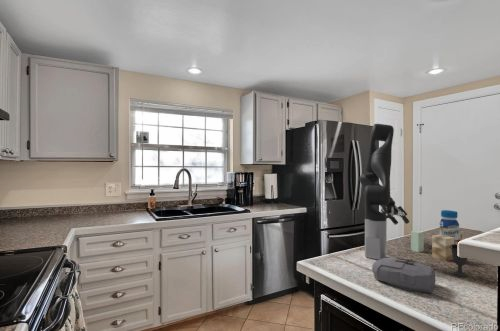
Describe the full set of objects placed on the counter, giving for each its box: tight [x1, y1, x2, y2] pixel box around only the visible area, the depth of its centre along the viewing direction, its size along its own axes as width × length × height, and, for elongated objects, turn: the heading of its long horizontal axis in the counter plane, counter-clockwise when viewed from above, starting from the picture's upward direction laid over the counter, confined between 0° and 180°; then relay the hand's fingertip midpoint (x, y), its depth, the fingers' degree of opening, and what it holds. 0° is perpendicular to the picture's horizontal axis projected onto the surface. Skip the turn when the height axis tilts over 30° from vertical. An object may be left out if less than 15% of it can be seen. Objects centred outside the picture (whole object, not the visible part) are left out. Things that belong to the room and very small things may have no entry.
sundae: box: [450, 234, 469, 278], centre depth 104 cm, size 7×7×15 cm
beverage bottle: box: [438, 209, 461, 242], centre depth 136 cm, size 8×8×20 cm
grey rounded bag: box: [371, 257, 436, 294], centre depth 96 cm, size 15×8×20 cm
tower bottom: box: [431, 245, 454, 262], centre depth 123 cm, size 6×6×5 cm
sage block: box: [410, 230, 425, 253], centre depth 135 cm, size 4×4×10 cm
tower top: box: [431, 234, 454, 250], centre depth 123 cm, size 6×6×5 cm
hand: (402, 223), depth 142 cm, fingers open, 8 cm apart
